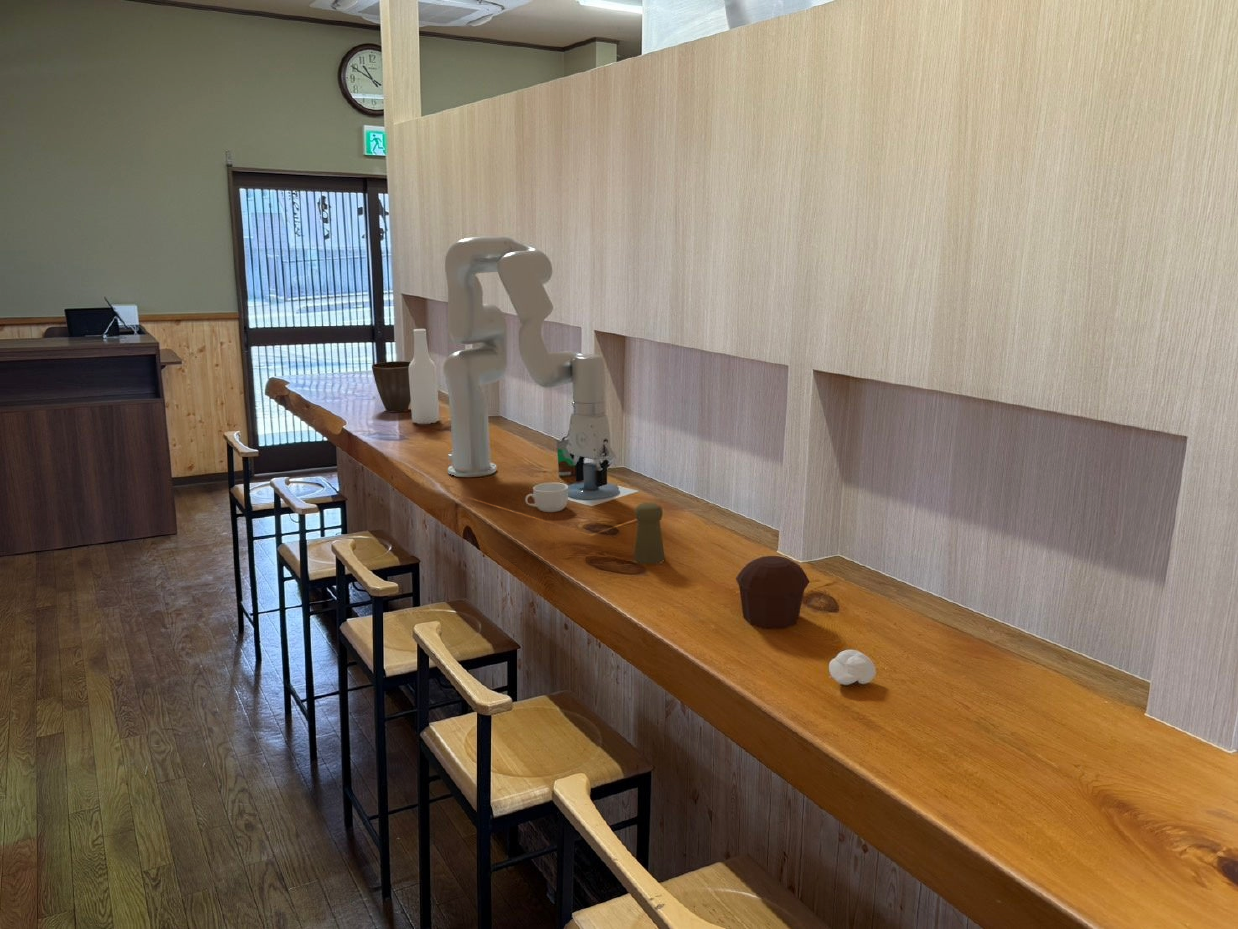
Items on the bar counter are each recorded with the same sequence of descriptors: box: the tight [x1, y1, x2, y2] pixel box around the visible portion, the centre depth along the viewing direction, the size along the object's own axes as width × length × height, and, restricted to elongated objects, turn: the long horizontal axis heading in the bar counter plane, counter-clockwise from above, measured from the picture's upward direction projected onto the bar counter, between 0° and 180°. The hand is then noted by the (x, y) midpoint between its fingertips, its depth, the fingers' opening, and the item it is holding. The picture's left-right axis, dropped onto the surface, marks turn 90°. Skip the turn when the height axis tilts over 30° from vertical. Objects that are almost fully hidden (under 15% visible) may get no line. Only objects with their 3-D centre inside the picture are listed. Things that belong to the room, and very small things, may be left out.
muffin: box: [735, 555, 810, 630], centre depth 152 cm, size 12×11×10 cm
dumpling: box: [828, 649, 877, 686], centre depth 131 cm, size 7×5×4 cm
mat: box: [568, 485, 640, 507], centre depth 224 cm, size 16×16×1 cm
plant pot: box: [371, 360, 411, 412], centre depth 325 cm, size 15×15×16 cm
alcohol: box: [408, 328, 440, 425], centre depth 303 cm, size 9×9×30 cm
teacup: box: [525, 482, 569, 513], centre depth 211 cm, size 10×8×5 cm
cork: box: [633, 502, 666, 565], centre depth 179 cm, size 6×6×11 cm
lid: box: [567, 461, 619, 500], centre depth 223 cm, size 13×13×7 cm
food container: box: [556, 430, 575, 478], centre depth 240 cm, size 12×6×10 cm, turn 168°
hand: (591, 482), depth 223 cm, fingers open, 6 cm apart
